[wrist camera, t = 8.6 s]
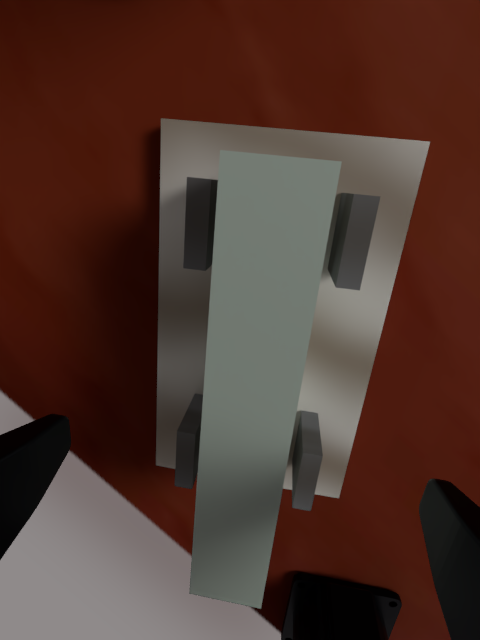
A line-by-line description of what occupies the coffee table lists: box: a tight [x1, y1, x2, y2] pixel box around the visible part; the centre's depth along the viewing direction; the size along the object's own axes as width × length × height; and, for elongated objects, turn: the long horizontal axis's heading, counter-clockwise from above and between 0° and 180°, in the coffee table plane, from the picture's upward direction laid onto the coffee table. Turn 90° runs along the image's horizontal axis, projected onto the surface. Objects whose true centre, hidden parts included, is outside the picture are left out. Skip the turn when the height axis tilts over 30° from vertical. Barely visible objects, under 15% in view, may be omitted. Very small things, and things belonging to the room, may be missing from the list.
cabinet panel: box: [156, 118, 430, 511], centre depth 15 cm, size 17×10×4 cm, turn 175°
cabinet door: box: [190, 150, 342, 609], centre depth 13 cm, size 14×2×7 cm, turn 175°
